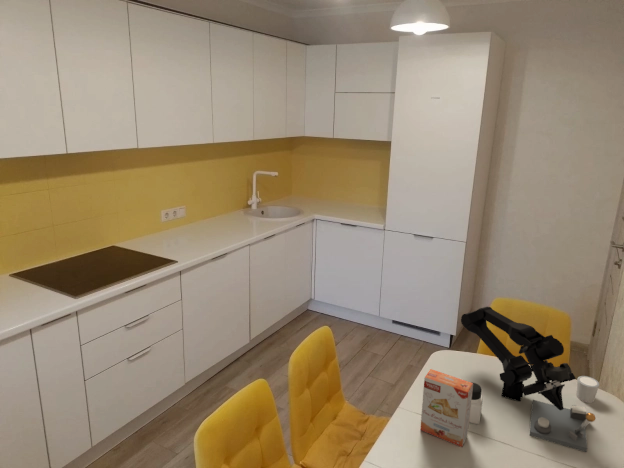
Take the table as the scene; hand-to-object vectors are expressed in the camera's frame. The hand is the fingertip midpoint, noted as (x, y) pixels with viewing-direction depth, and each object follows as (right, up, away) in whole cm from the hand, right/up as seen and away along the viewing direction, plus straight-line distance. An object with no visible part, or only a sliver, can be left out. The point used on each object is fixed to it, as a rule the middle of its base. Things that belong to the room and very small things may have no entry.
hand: (561, 409), depth 148 cm
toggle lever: (+2, -6, -4) cm, 8 cm away
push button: (-6, -5, -1) cm, 8 cm away
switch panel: (0, -7, +3) cm, 7 cm away
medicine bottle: (-27, -6, +9) cm, 29 cm away
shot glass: (+18, -2, +17) cm, 25 cm away
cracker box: (-39, -8, 0) cm, 39 cm away
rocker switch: (+8, -2, +5) cm, 10 cm away
